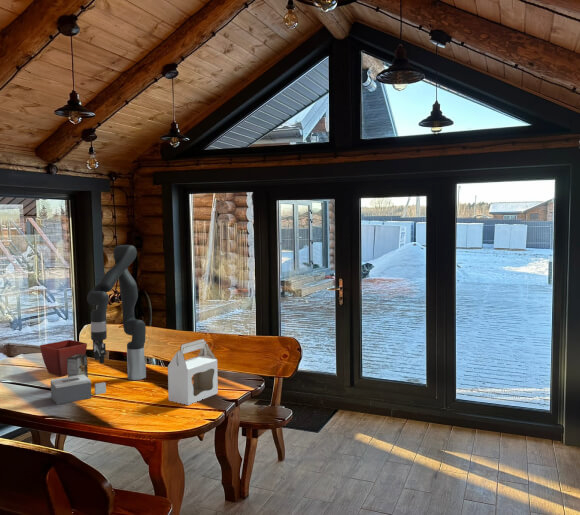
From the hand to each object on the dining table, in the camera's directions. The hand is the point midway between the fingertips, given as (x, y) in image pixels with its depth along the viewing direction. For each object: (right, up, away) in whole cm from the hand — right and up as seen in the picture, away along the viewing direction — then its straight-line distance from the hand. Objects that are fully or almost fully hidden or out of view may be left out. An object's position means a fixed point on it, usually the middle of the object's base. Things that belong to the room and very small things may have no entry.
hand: (99, 361), depth 272 cm
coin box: (-12, -17, -6) cm, 22 cm away
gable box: (+49, -17, -6) cm, 52 cm away
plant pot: (-34, -14, +39) cm, 54 cm away
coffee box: (-16, -16, +14) cm, 27 cm away
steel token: (0, -16, +1) cm, 17 cm away
